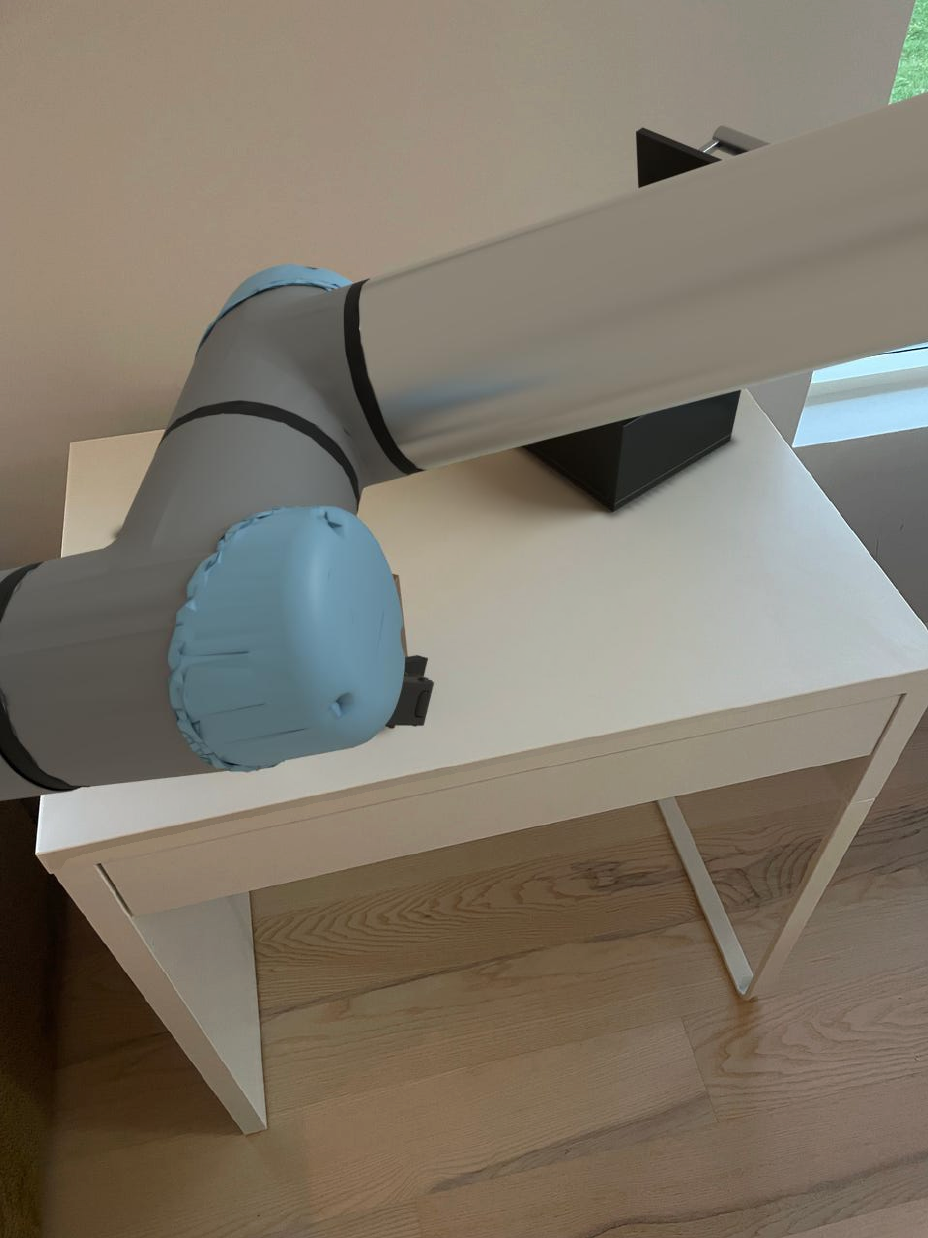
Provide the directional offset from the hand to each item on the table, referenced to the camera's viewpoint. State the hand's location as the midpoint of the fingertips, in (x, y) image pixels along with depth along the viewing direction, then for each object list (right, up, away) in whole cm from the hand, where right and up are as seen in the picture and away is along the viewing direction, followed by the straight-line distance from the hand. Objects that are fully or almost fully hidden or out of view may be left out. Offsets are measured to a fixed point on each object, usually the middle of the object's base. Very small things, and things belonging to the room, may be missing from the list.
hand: (321, 649), depth 63 cm
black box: (+25, +19, +31) cm, 44 cm away
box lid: (+29, +34, +20) cm, 49 cm away
